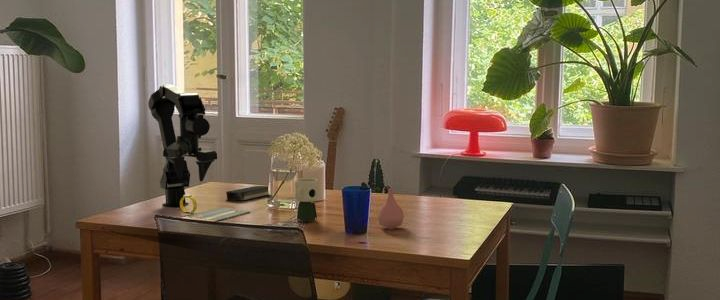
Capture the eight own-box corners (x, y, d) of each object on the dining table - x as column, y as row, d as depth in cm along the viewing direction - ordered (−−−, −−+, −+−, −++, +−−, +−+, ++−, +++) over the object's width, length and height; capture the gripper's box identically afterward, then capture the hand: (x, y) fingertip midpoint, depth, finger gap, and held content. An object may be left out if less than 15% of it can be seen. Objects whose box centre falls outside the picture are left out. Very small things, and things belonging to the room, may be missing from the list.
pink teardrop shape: (385, 224, 231) (385, 185, 230) (408, 227, 227) (408, 187, 226) (373, 229, 225) (373, 189, 223) (396, 232, 221) (396, 192, 219)
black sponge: (240, 203, 265) (240, 192, 265) (224, 200, 271) (224, 190, 270) (273, 196, 278) (273, 186, 278) (257, 193, 283) (257, 183, 283)
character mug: (309, 225, 230) (308, 183, 228) (288, 223, 233) (287, 182, 231) (325, 218, 240) (324, 177, 238) (305, 216, 243) (304, 176, 241)
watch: (198, 212, 249) (198, 194, 248) (193, 214, 247) (192, 196, 246) (183, 211, 252) (183, 193, 251) (178, 212, 249) (177, 195, 248)
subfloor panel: (171, 220, 238) (171, 218, 238) (221, 208, 256) (221, 206, 256) (200, 225, 231) (200, 223, 231) (250, 212, 249) (250, 210, 248)
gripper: (149, 133, 243) (151, 181, 245) (193, 137, 234) (195, 187, 236) (174, 129, 253) (176, 175, 255) (217, 133, 243) (218, 181, 246)
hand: (190, 179), depth 248 cm, fingers open, 9 cm apart
